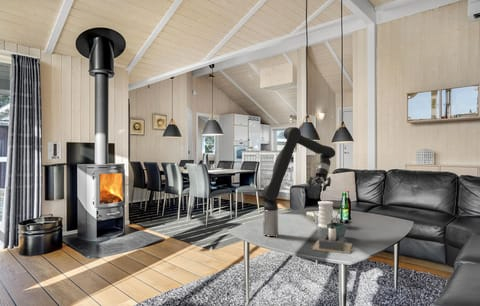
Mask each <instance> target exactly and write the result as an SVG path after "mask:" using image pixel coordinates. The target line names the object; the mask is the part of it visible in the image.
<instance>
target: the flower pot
mask: <svg viewBox="0 0 480 306" xmlns="http://www.w3.org/2000/svg"><path fill="white" fill-rule="evenodd" d="M330 225H331V223H330V224H327V228H326V230H327V233H328V234H329V228H330ZM333 225H334V228H336V236H340V237H345V234H346V231H347V229H346V228H347V223H346V224H345V223H340V222H335V221H333Z"/></svg>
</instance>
